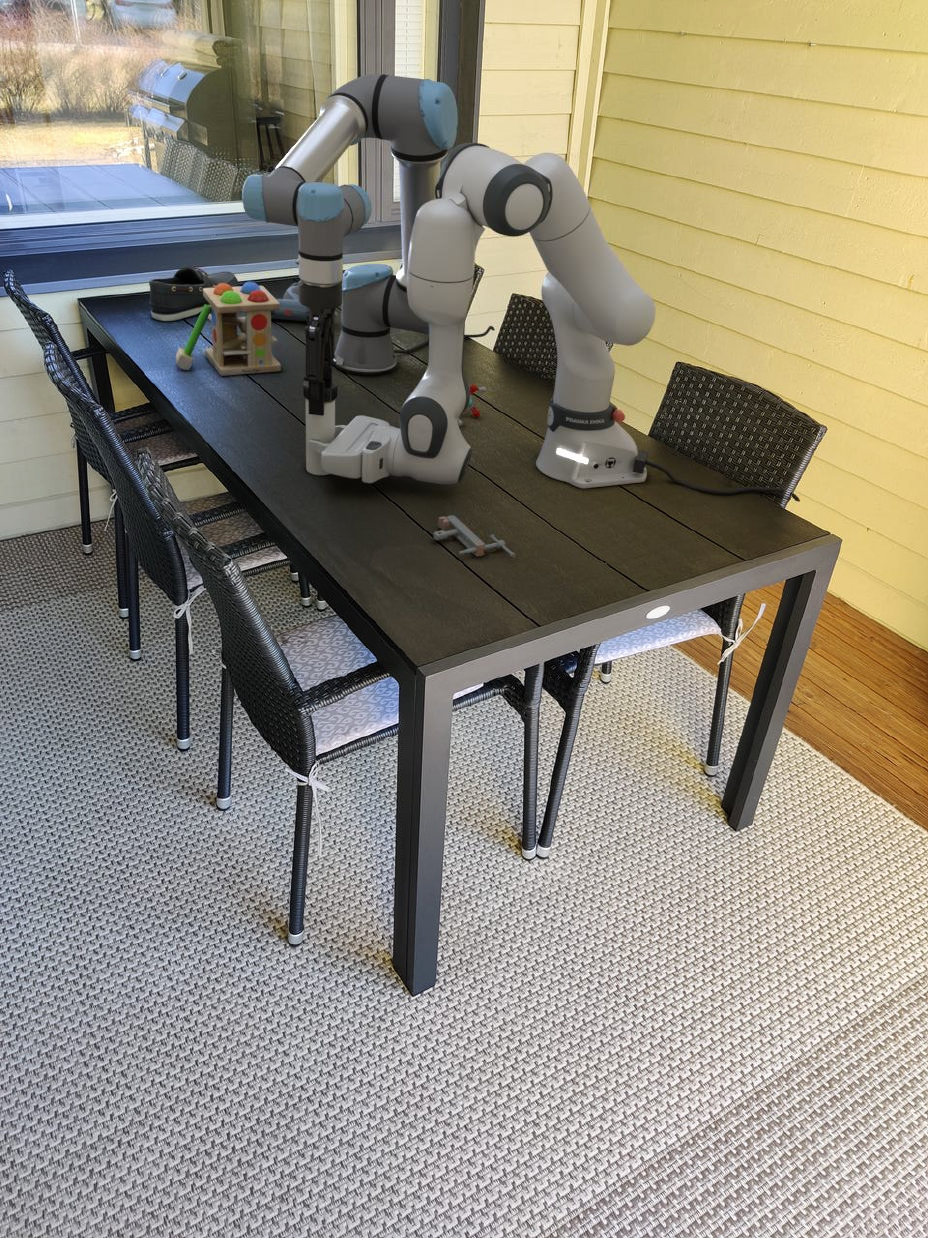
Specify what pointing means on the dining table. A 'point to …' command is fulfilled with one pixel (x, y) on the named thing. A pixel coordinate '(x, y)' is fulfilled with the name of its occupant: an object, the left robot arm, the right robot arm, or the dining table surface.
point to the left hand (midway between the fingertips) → (320, 407)
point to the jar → (319, 435)
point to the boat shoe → (184, 292)
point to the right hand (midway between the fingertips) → (315, 436)
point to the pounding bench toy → (229, 347)
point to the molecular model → (475, 412)
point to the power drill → (292, 306)
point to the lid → (329, 390)
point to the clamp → (466, 537)
